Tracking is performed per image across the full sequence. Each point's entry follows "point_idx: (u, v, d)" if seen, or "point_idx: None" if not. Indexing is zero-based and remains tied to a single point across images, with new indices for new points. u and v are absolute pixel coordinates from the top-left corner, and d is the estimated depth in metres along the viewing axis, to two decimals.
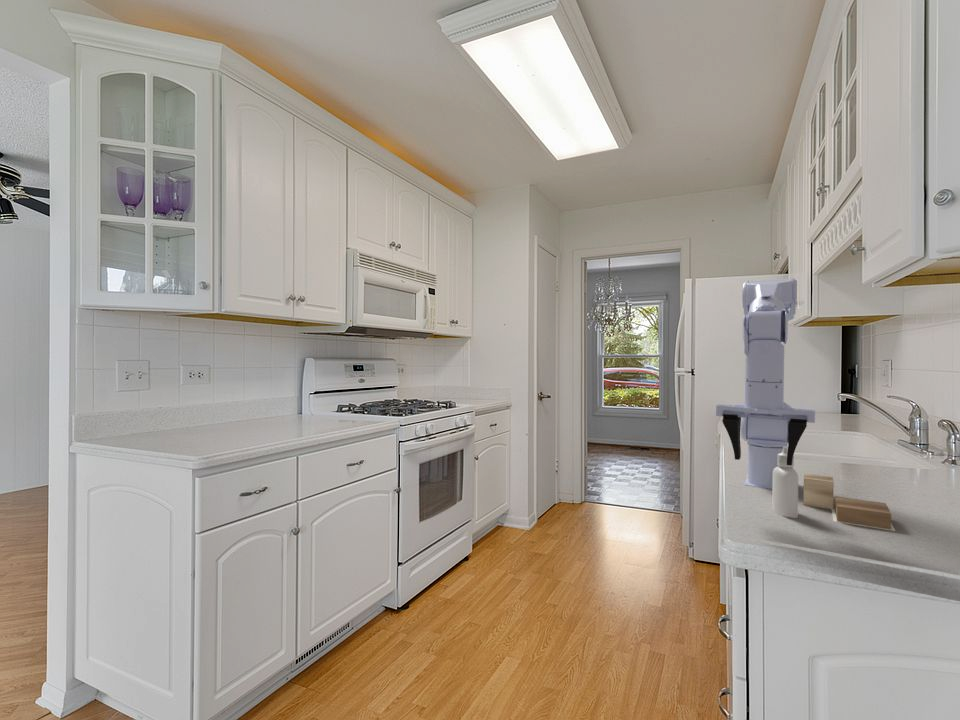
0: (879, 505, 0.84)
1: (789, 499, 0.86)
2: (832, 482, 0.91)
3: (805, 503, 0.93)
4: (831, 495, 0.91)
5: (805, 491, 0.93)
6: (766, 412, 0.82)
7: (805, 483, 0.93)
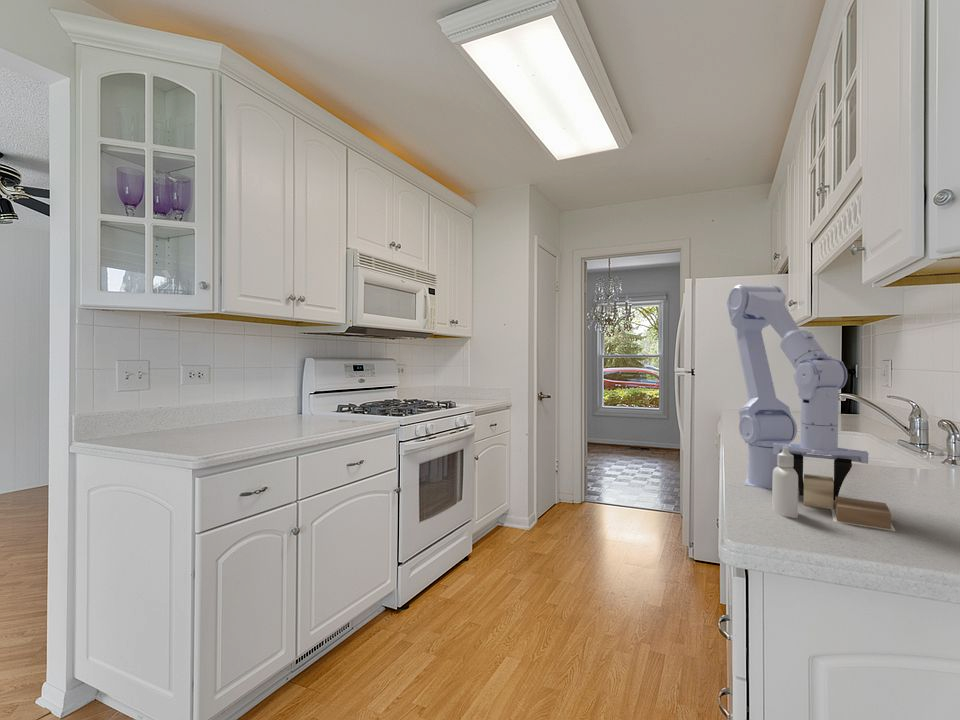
0: (879, 505, 0.84)
1: (789, 499, 0.86)
2: (832, 482, 0.91)
3: (805, 503, 0.93)
4: (831, 495, 0.91)
5: (805, 491, 0.93)
6: (823, 453, 0.90)
7: (805, 483, 0.93)
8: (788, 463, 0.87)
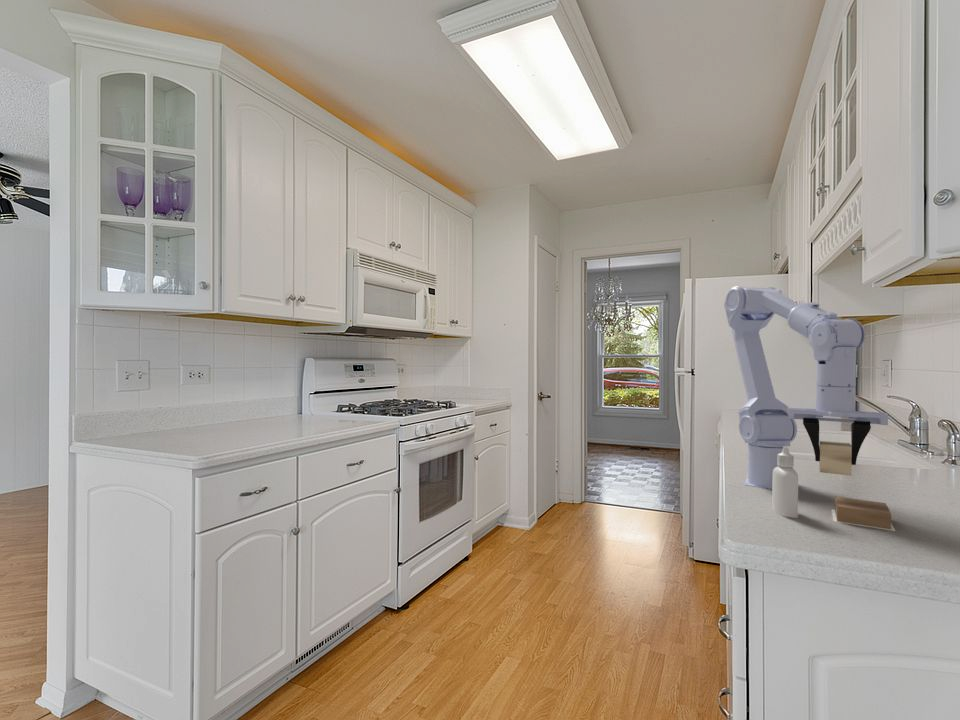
0: (879, 505, 0.84)
1: (789, 499, 0.86)
2: (850, 447, 0.87)
3: (822, 470, 0.89)
4: (849, 461, 0.87)
5: (821, 457, 0.89)
6: (841, 415, 0.86)
7: (821, 449, 0.89)
8: (788, 463, 0.87)
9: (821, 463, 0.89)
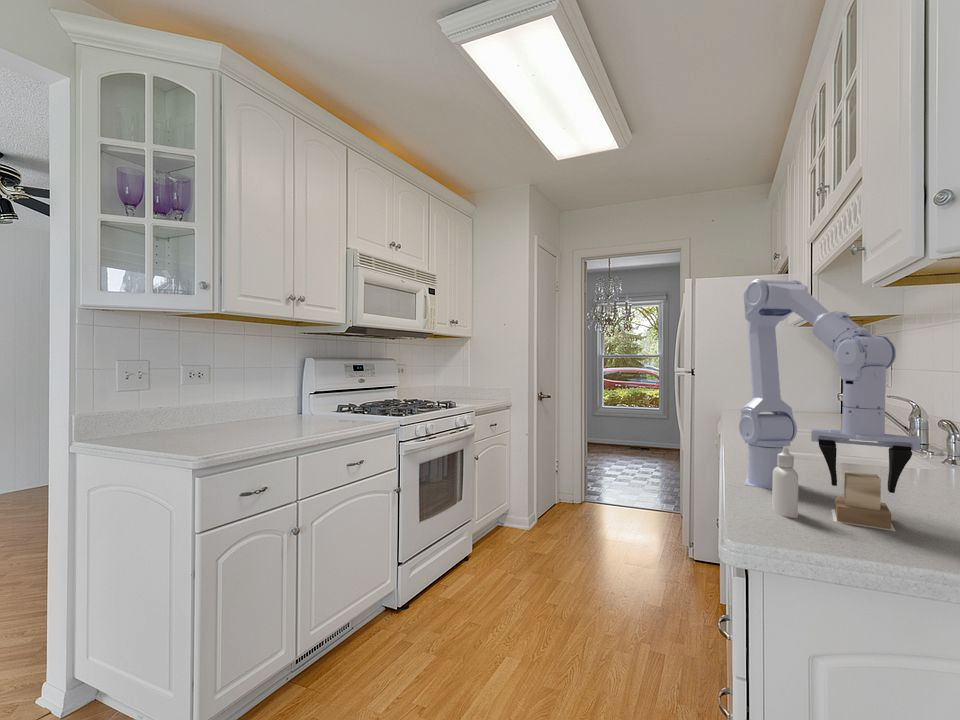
0: None
1: (789, 499, 0.86)
2: (879, 480, 0.82)
3: (848, 503, 0.84)
4: (878, 494, 0.82)
5: (848, 490, 0.84)
6: (870, 439, 0.81)
7: (848, 481, 0.84)
8: (788, 463, 0.87)
9: (847, 496, 0.84)
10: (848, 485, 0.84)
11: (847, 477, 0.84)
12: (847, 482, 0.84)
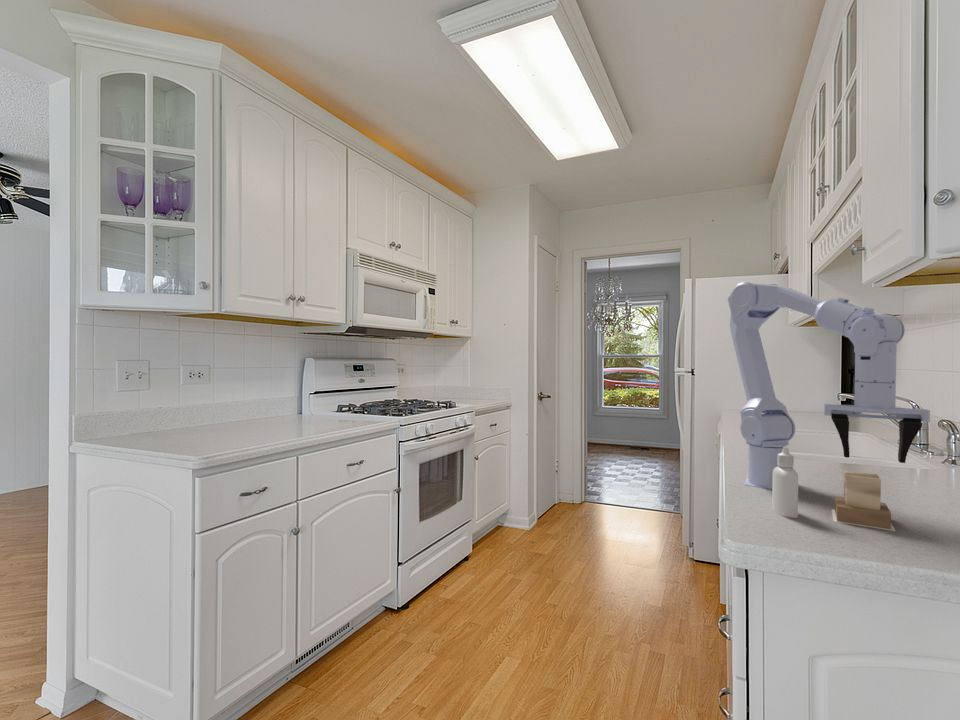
0: None
1: (789, 499, 0.86)
2: (879, 480, 0.82)
3: (848, 503, 0.84)
4: (878, 494, 0.82)
5: (848, 490, 0.84)
6: (881, 411, 0.85)
7: (848, 481, 0.84)
8: (788, 463, 0.87)
9: (847, 496, 0.84)
10: (848, 485, 0.84)
11: (847, 477, 0.84)
12: (847, 482, 0.84)
